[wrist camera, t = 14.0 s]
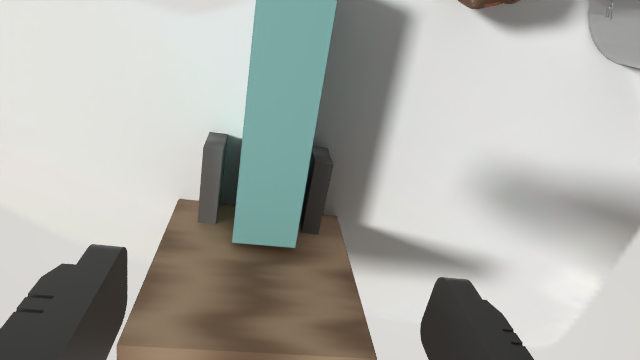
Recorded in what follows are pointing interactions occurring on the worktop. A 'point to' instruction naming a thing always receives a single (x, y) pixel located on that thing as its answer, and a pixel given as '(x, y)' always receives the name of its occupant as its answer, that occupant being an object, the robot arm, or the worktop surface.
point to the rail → (280, 117)
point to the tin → (485, 3)
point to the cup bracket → (248, 284)
